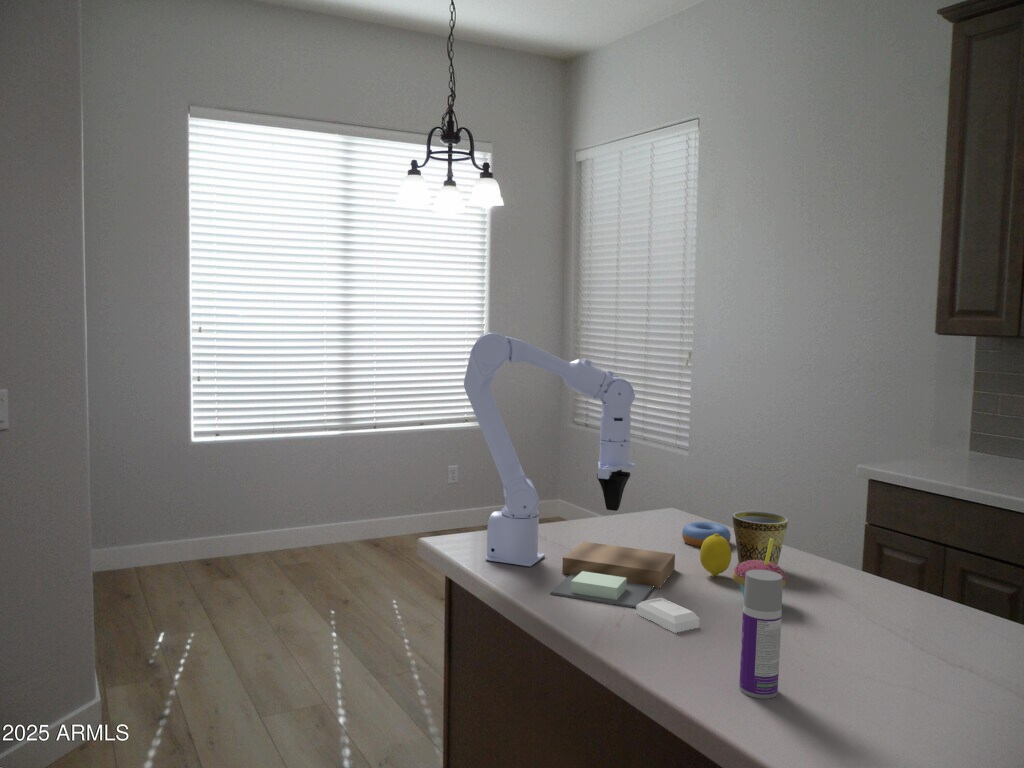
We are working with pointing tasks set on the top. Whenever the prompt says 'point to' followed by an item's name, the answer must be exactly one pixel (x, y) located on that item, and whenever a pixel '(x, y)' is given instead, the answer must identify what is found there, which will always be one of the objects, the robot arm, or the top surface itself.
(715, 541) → the lemon
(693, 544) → the doughnut
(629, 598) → the mat
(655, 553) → the board
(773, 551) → the ceramic cup
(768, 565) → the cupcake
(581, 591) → the tile
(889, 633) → the top surface
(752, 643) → the container
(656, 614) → the soap bar
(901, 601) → the top surface
